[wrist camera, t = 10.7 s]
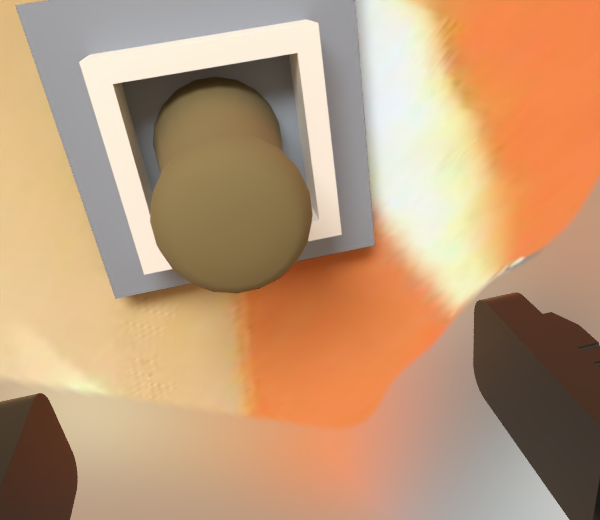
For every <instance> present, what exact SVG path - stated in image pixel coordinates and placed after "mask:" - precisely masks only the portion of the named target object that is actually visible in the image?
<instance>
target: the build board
mask: <svg viewBox="0 0 600 520" xmlns="http://www.w3.org/2000/svg"><path fill="white" fill-rule="evenodd" d="M15 6H16V9H17V12H18V15H19V17H20V20H21V23H22V26H23V29H24V32H25V35H26V38H27V41H28V44H29V47H30V50H31V53H32V56H33V58H34V61H35V64H36V67H37V70H38V73H39V76H40V79H41V82H42V85H43V88H44V91H45V94H46V97H47V99H48V102H49V105H50V108H51V111H52V114H53V117H54V120H55V123H56V126H57V129H58V132H59V135H60V138H61V140H62V143H63V146H64V149H65V152H66V155H67V158H68V161H69V164H70V167H71V170H72V173H73V176H74V179H75V181H76V184H77V187H78V190H79V193H80V196H81V199H82V202H83V205H84V208H85V211H86V214H87V217H88V220H89V222H90V225H91V228H92V231H93V234H94V237H95V240H96V243H97V246H98V249H99V252H100V255H101V258H102V261H103V264H104V266H105V269H106V272H107V275H108V278H109V281H110V284H111V287H112V290H113V293H114V296H115V299H117V298H122V297H127V296H131V295H136V294H141V293H146V292H151V291H156V290H160V289H165V288H170V287H175V286H180V285H185V284H190V282H189V281H187V280H186V279H185V278H183V277H182V276H181V275H179V274H178V273H177V272H176V271H174V270H173V269H172V267H171V266H170V265H169V263H168V262H167V260H166V259H165V257H164V256H163V255H162V253H161V252H160V250H159V248H158V246H157V244H156V241H155V237H154V234H153V230H152V227H151V223H150V216H151V202H152V194H153V190H154V188H155V186H156V184H157V181H158V179H159V177H160V175H161V172H160V169H159V166H158V162H157V159H156V155H155V151H154V147H153V136H154V124H155V122H156V119H157V117H158V115H159V112H160V110H161V108H162V105H163V104H164V103H165V102H166V101H167V100H168V99H169V98H170V97H171V95H172V94H173V93H174V92H175V91H176V90H178V89H179V88H181V87H183V86H185V85H187V84H189V83H190V82H192V81H194V80H199V79H205V78H211V77H221V78H228V79H234V80H238V81H240V82H242V83H244V84H246V85H247V86H249V87H251V88H253V89H255V90H256V91H257V92H258V93H259V94H260V95H261V96H262V97H263V98H264V99H265V100H266V101H267V102H268V103H269V104H270V105H271V107H272V109H273V111H274V113H275V115H276V117H277V119H278V121H279V126H280V133H281V139H282V149H283V153H284V154H285V155H286V156H287V157H288V158H289V159H290V160H291V161H292V162H293V163H294V164H295V165H296V166H297V168H298V169H299V171H300V173H301V175H302V177H303V179H304V181H305V183H306V185H307V187H308V189H309V191H310V199H311V206H312V214H313V215H312V223H311V228H310V233H309V238H308V243H307V245H306V246H305V248H304V250H303V252H302V253H301V255H300V257H299V259H298V260H297V261H301V260H306V259H311V258H316V257H321V256H325V255H330V254H335V253H340V252H345V251H350V250H355V249H359V248H364V247H369V246H374V245H375V243H374V230H373V218H372V206H371V193H370V181H369V169H368V156H367V144H366V132H365V119H364V107H363V95H362V82H361V70H360V58H359V45H358V33H357V21H356V8H355V0H48V1H41V2H35V3H28V4H21V5H15Z"/></svg>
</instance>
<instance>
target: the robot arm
mask: <svg viewBox="0 0 600 520" xmlns="http://www.w3.org/2000/svg"><path fill="white" fill-rule="evenodd" d="M474 311H475V312H474V359H473V360H474V361H473V363H474V364H473V365H474V373H475V378H476V381H477V385H478V387H479V390H480V392H481V394H482V395H483V397H484V399H485V400H486V402H487V403H488V404H489V406H490V407H491V409H492V410H493V412H494V413H495V414H496V416H497V417H498V419H499V420H500V421H501V423H502V424H503V426H504V427H505V429H506V430H507V431H508V433H509V434H510V436H511V437H512V438H513V440H514V441H515V443H516V444H517V446H518V447H519V449H520V450H521V451H522V453H523V454H524V456H525V457H526V458H527V460H528V461H529V463H530V464H531V465H532V467H533V468H534V469H535V471H536V473H537V474H538V475H539V477H540V478H541V480H542V481H543V483H544V484H545V485H546V487H547V488H548V490H549V491H550V493H551V494H552V495H553V497H554V498H555V500H556V501H557V503H558V504H559V505H560V507H561V508H562V509H563V511H564V512H565V513H566V515H567V517H568V518H569V519H570V520H600V346H599V343H598V342H597V341H596V340H595V339H594V338H593V337H592V336H591V335H590V334H588V333H587V332H586V331H585V330H584V329H583V328H582V327H580V326H579V325H578V324H576V323H574V322H571V321H569V320H567V319H565V318H563V317H561V316H559V315H556V314H554V313H552V312H550V313H545V314H542V313H541V312H540V311H539V310H537V308H536V307H534V306H533V305H532V304H531V303H530V302H529V301H528V300H527V299H526V298H525V297H524V296H523V295H521V294H520V293H511V294H507V295H502V296H497V297H493V298H488V299H483V300H479V301H477V303H476V305H475V310H474ZM76 490H77V467H76V462H75V458H74V455H73V452H72V450H71V448H70V445H69V443H68V441H67V439H66V437H65V434H64V432H63V430H62V428H61V426H60V423H59V421H58V419H57V417H56V414H55V412H54V410H53V408H52V406H51V404H50V402H49V400H48V398H47V397H46V396H45V395H44V394H42V393H39V394H35V395H31V396H26V397H21V398H17V399H11V400H7V401H2V402H0V520H70V517H71V513H72V508H73V504H74V499H75V495H76Z"/></svg>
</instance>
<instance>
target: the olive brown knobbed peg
mask: <svg viewBox="0 0 600 520" xmlns="http://www.w3.org/2000/svg"><path fill="white" fill-rule="evenodd" d="M153 147H154V151H155V155H156V159H157V162H158V166H159V169H160V172H161V175H160V177H159V179H158V181H157V184H156V186H155V188H154V190H153V194H152V202H151V216H150V223H151V227H152V230H153V234H154V237H155V241H156V244H157V246H158V248H159V250H160V252H161V253H162V255H163V256H164V257H165V259H166V260H167V262H168V263H169V265H170V266H171V267H172V269H173V270H174V271H176V272H177V273H178V274H179V275H181V276H182V277H183V278H185V279H186V280H187V281H189V282H190V283H191V284H194V285H197V286H200V287H202V288H205V289H208V290H211V291H213V292H228V293H240V292H245V291H249V290H254V289H259V288H261V287H263V286H265V285H267V284H269V283H271V282H273V281H275V280H277V279H279V278H280V277H281V276H282V275H284V274H285V273H286V272H287V271H288V270H289V269H290V268H291V267H292V266H293V265H294V264H295V263H296V262H297V260H298V259H299V257H300V255H301V253H302V252H303V250H304V248H305V246H306V245H307V243H308V238H309V233H310V228H311V223H312V215H313V214H312V206H311V199H310V191H309V189H308V187H307V185H306V183H305V181H304V179H303V177H302V175H301V173H300V171H299V169H298V168H297V166H296V165H295V164H294V163H293V162H292V161H291V160H290V159H289V158H288V157H287V156H286V155H285V154H284V153H283V149H282V139H281V133H280V126H279V121H278V119H277V117H276V115H275V113H274V111H273V109H272V107H271V105H270V104H269V103H268V102H267V101H266V100H265V99H264V98H263V97H262V96H261V95H260V94H259V93H258V92H257V91H256V90H255V89H253V88H251V87H249V86H247V85H246V84H244V83H242V82H240V81H238V80H234V79H228V78H221V77H211V78H205V79H199V80H194V81H192V82H190V83H189V84H187V85H185V86H183V87H181V88H179V89H178V90H176V91H175V92H174V93H173V94H172V95H171V97H170V98H169V99H168V100H167V101H166V102H165V103H164V104H163V105H162V108H161V110H160V112H159V115H158V117H157V119H156V122H155V124H154V136H153Z"/></svg>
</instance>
